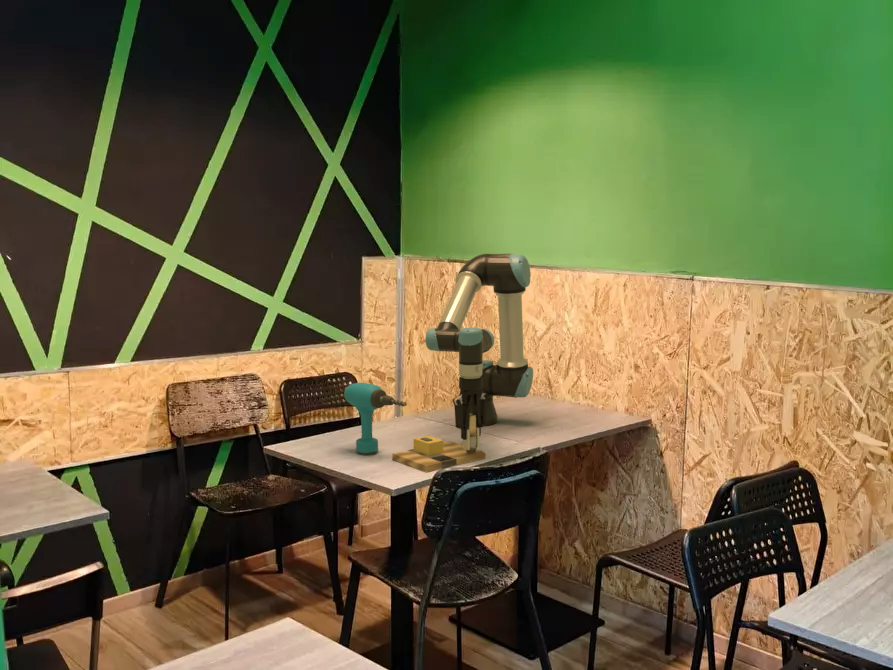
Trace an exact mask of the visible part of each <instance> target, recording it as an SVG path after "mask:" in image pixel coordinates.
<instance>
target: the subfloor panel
mask: <svg viewBox="0 0 893 670" xmlns="http://www.w3.org/2000/svg"><path fill="white" fill-rule="evenodd" d="M391 457H392V458H391V459H392V461H395V462H398V463H400V464H403V465H405V466H409V467H412V468H414V469H416V470H419V471H421V472H425V473H429V472H435V471H439V470H442V469H446V468H449V467H455V466H459V465H463V464H467V463H471V462H476V461H479V460H484V459H486V452H485V451H482V450H479V449H476V452H466V449H463V444H460V443H457V442H454V441H450V440H449V441H445V442H444V441H443V453H439V454H434V455H430V456H428V455H425V454H422V453H419V452H416V451H414V448H413V449H412V448H411V449H408V450H407V449H406V450H403V451H398V452H393V453H392V454H391Z"/></svg>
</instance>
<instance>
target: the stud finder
mask: <svg viewBox="0 0 893 670" xmlns="http://www.w3.org/2000/svg"><path fill="white" fill-rule="evenodd" d="M443 443H444V440H443V439H439V438H437V437H433V436H431V435H424V436H421V437H416V438H413V449H414V451H416V452H419V453H422V454H425V455H428V456H430V455H434V454H439V453H443Z"/></svg>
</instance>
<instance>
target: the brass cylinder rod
mask: <svg viewBox="0 0 893 670" xmlns="http://www.w3.org/2000/svg"><path fill="white" fill-rule="evenodd" d="M468 430H470V450H466V452H476V450H477V447H476V414H472V413H470V414H469V422H468Z"/></svg>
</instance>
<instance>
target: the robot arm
mask: <svg viewBox="0 0 893 670" xmlns="http://www.w3.org/2000/svg"><path fill="white" fill-rule="evenodd" d="M455 277H456V278H455V287H454V289H453V291H452V293H451V296H450V298H449V300H448V302H447V305H446V307H445V310H444V311H443V314H442V316H441V319H440V321H439V322H438V325H437V328H436V327H431V328H429V329H427V331H426V334H425V345H426V348H427V349H428V350H429V351H433V352H439V353H440V352H450V353H451V352H452V353H458V376H459V377H458V388H459V390H460V392H459V395H458V397H456V398H454V397H453V398H452V403H453V405H454V423H455V428H457V429H458V430H460V438H461V440H462V445H463V449H466V450H470V430H468V422H469V414H470V413H472V414H476V449H477V448H478V449H479V448H480V437H481V435H482V434H481V433H482V431H481V429H483V428H484V426H492V425H495V424H497V423H498V414H497V410H496V406H495V404H494V397H505V398H514V399H517V398H527V397H528V395H529V394H530V391H531V389H532V386H533V380H534V369H533V367H532V366H529V362H528V359H527V358H525V356H524V332H523V331H524V330H523V329H524V328H523V325H524V324H523V302H522V301H523V299H522V298H523V297H522V295H523V294H524V293H525V292H526V289H527V287H529V286H530V283H531V268H530V263H529V260H528V259H527V257H526V256H525V255H523V254H519V253H518V254H516V253H480V254H478V255H476V256H474V257H472V258H471V259H470V260H468V261H467V262H466V263H465V264H464V265H463V266H462V267H461V268H460V269H459V270H458V273H457V275H456V276H455ZM486 286H487V287H493V293H494V294H495V295H497V300H498V301H497V304H498V305H497V306H498V307H497V308H498V327H499V350H500V351H499V352H500V353H499V355H500V358H499V359H497V361H496V364H495V363H494V361H493V360H491V359H489V360H488V359H485V360H484V359H483V354H485V353H487V352H489V351H490V350H491V349H492V348H493V346H494V345H495V336H494V334H493V333H492V331H490V330H488V329H486V328H480V327H472V326H471V327H463V328H462V326H463V323H464V322H465V319H466V317H467V314H468V312H469V309H470V307H471V305H472V302H473V300H474V298H475V295H476V293H477V292H479V291H480V290H481V288H482V287H486Z"/></svg>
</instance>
